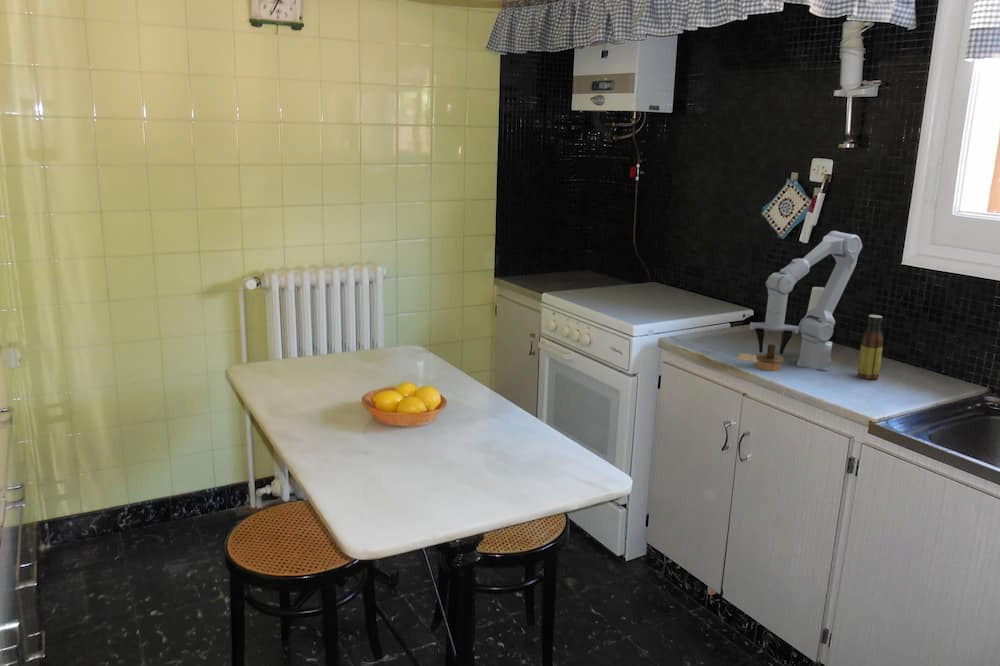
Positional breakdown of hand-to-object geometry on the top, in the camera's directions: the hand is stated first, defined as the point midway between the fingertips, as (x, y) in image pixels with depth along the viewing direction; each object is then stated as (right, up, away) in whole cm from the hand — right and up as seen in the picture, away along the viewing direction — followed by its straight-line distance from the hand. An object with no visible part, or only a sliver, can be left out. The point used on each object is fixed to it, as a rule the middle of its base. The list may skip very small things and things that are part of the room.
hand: (770, 352), depth 254 cm
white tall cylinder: (+19, -3, +14) cm, 23 cm away
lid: (0, -2, +1) cm, 2 cm away
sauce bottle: (+29, -8, -3) cm, 30 cm away
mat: (-2, -3, +11) cm, 11 cm away
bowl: (0, -5, +1) cm, 5 cm away
